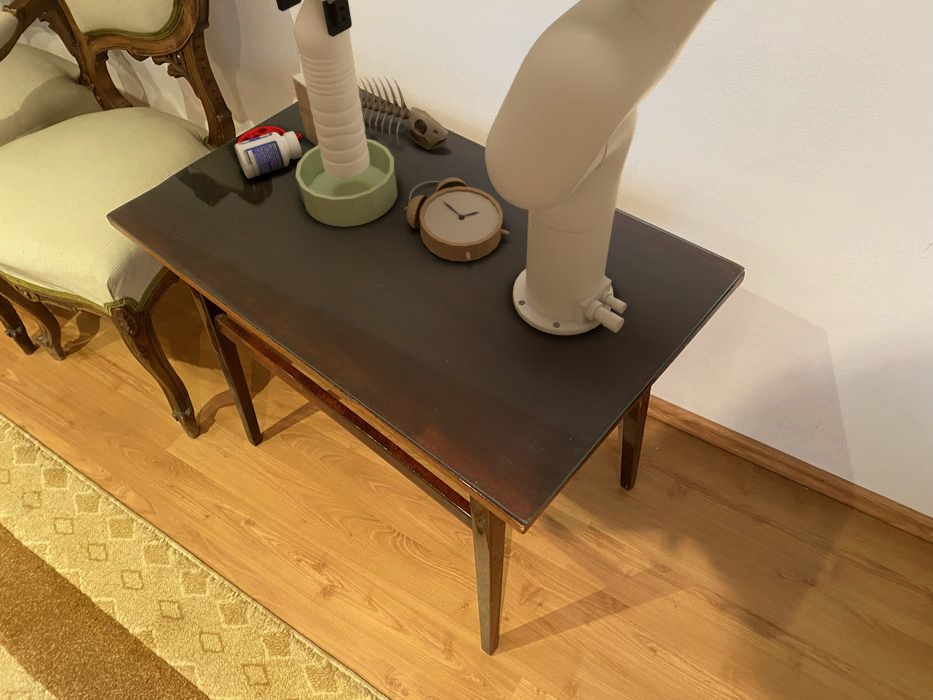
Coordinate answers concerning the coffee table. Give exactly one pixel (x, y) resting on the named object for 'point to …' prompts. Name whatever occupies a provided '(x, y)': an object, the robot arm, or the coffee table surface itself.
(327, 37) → the plastic bottle and lid
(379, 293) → the coffee table surface
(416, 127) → the fish skeleton
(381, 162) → the holder
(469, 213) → the alarm clock
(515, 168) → the robot arm
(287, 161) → the pill bottle
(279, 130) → the ornament
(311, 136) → the box
